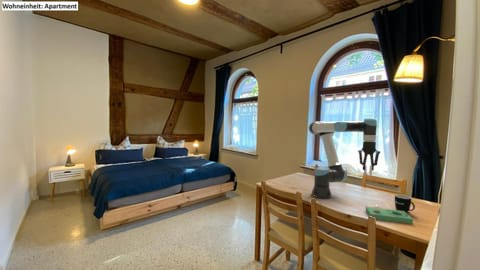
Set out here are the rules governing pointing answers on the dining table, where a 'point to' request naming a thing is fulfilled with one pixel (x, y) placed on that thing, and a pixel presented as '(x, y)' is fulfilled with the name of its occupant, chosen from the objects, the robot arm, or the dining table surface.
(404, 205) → the mug
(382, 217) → the green
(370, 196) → the dining table surface
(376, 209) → the ball
